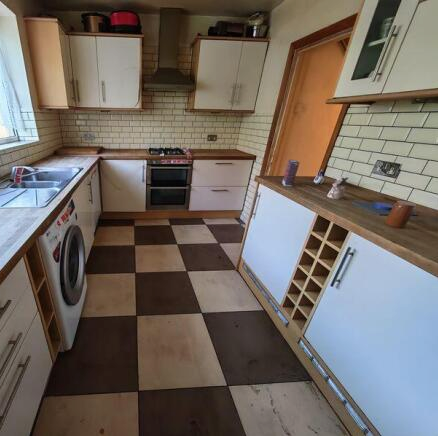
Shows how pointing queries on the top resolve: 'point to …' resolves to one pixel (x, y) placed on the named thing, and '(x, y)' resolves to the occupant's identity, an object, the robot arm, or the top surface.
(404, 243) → the top surface
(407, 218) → the jar
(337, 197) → the figurine
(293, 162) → the supplement box
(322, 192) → the top surface
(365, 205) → the mat
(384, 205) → the lid
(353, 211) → the top surface
